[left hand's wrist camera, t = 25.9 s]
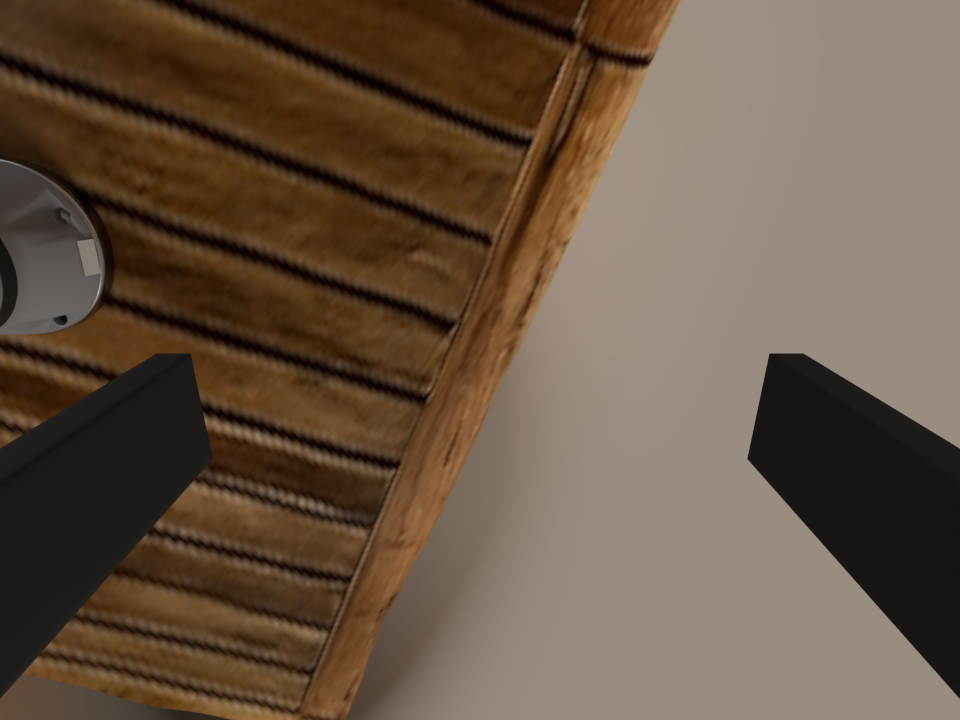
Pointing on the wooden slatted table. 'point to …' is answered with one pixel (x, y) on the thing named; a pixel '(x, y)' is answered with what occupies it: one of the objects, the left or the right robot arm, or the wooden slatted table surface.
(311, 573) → the wooden slatted table surface
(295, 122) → the wooden slatted table surface
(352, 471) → the wooden slatted table surface
